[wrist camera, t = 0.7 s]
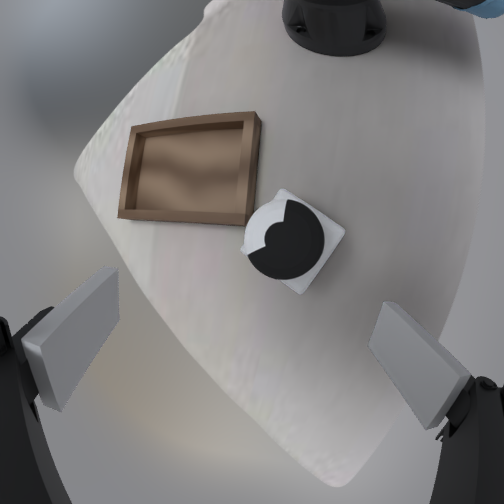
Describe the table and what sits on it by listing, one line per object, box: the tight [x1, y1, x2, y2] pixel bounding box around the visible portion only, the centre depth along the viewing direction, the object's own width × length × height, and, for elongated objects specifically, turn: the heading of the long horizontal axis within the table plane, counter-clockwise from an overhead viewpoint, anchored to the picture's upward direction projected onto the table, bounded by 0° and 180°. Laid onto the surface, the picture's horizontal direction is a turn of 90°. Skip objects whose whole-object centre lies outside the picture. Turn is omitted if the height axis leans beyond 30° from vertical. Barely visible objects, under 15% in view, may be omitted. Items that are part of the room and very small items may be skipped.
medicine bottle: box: [240, 188, 345, 294], centre depth 26 cm, size 7×7×12 cm
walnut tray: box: [118, 111, 261, 226], centre depth 34 cm, size 13×18×3 cm
